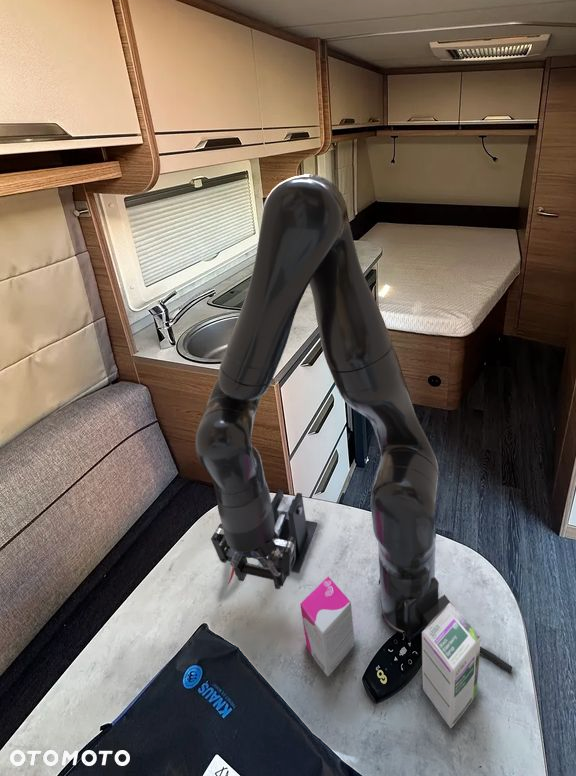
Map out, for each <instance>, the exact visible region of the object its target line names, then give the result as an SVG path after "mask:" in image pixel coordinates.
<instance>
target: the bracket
mask: <svg viewBox="0 0 576 776" xmlns="http://www.w3.org/2000/svg"><path fill="white" fill-rule="evenodd" d="M283 496H284V497H285V495H284V491H283V490H282V489H277V491H276V493H275V495H274V497H273V498H272V500H271V503H272V509H273V514H274V520H275V524H276V522H277V520H278V517H279V515H278V512H277V509H278V507H279V505H280V502H281V500H282V498H283ZM304 505H305V504H304V499H303V494H302V493H301V492H297V493H296V494H295V497H294V501H293V503H292V505H291V508H290V510H289V512H288V516H289V520H288V519H285V522H284V524H283V527H282V529H281V532H280V534H279V536H278V537H279V539H281V540H285V541H288V538H289V537H294V538H295V540H296V552H295V562H294V565H293V567H292V570H291V572H292V573H296V574H300V572H301V569H302V567H303V564H304V562H305V558H306V555H307V554H308V550H309V547H310V546H311V542H312V539H313V538H314V537H313V536H314V534H315V531H316V528H317V526H318V522H316V521H310V520H307V518H306V512H305V506H304ZM276 564H277V560H275V565H276Z"/></svg>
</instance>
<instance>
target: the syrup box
mask: <svg viewBox="0 0 576 776" xmlns="http://www.w3.org/2000/svg"><path fill="white" fill-rule="evenodd" d="M452 605H453V604H452V602H451V603H449V604H448V605H447V606H446V607H445V608H444V609H443V610H442V611H441V612H440V613H439V614H438V615H437V616H436V617H435V618H434V619H433V620H432V621H431V622H430V624H429V625H428V626H427V627H426V628H425V629H424V630H423V631H422V633H421V660H422V661H421V662H422V663H421V664H422V665H421V666H422V669H421V670H422V690H423V691H424V693H425V694H426V695H427V697H428V699H429V700H430V701H431V703H432V704H433V706H434V707H435V709H436V710H437V712H438V713H439V714H440V716H441V717H442V718H443V720H444V721H445V723H446V724H447V726H448V727H449V729H452V728H453V727H454V726H455V724H457V722H458V721H459V720H460V719H461V717H462V716H463V714H464V713H465V712H466V711H467V709H468V708H469V706H470V705H471V704H472V702H473V701H474V699H475V698H476V697H477V695H478V681H479V678H478V677H479V667H480V647H481V636H480V634H479V633H478V632H477V630H475V629H474V627H473V626H472V625H471V624H470V623H469V621H468V620H467V619H466V618H465V617H464V616H463V615H462V614H461V613H460V611H458V609H457V608H456V607H454V605H453V606H452Z"/></svg>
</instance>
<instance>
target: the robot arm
mask: <svg viewBox="0 0 576 776" xmlns="http://www.w3.org/2000/svg"><path fill="white" fill-rule="evenodd" d="M261 216H262V217H261V222H260V228H259V235H258V240H257V241H258V242H257V247H256V253H255V260H254V265H253V269H252V271H251V272H252V273H251V276H250V281H249V285H248V288H247V291H246V295H245V299H244V301H243V304H242V306H241V308H240V311H239V314H238V316H237V320H236V322H235V324H234V327H233V329H232V331H231V335H230V337H229V340H228V343H227V346H226V348H225V351H224V354H223V356H222V359H221V362H220V365H219V370H218V373H217V378H216V380H215V383H214V385H213V387H212V390H211V392H210V395H209V397H208V399H207V401H206V404H205V407H204V410H203V412H202V415H201V418H200V421H199V424H198V426H197V429H196V433H195V438H194V439H195V440H194V445H195V452H196V456H197V458H198V459H197V460H198V461H199V463H200V464H201V465H202V467H203V469H204V470H205V471H206V473H207V474H208V476H209V477H210V478H211V479H212V483H213V488H214V491H215V496H216V500H217V501H216V502H217V504H216V505H217V510H218V515H219V519H220V523H219V524H218V526H217V527H216V529H215V531H214V533H213V534H212V536H211V538H210V540H211V542H212V543H211V544H212V546H213V547H214V549H215V553H216V554H217V557H218V559H219V561H220V562H221V563H223V564H226V563H227V562H230V563H229V565H230V567H234V575H235V576H236V577H237V579H238V581H240V582H244V581H245V578H246V577H247V575H248V574H245V573H242V567H243V564H244V563H249V562H248V559H254V560H257V561H258V563H259V562H260V563H261V565H262V566H263V567H264V568H265V569H268V568H269V570H270V571H271V572H272V574H273V580H272V581H273V584H274V588H275V589H276V590H281V587H284V584H285V583H286V579H287V577H290V575H291V572H292V571H291V570H292V567H293V565H294V562H295V552H296V540H295V538H294V537H289V538H288V541H285V540H281V539H279V537H278V535H277V533H276V532H275V520H274V514H273V509H272V498H271V493H270V489H269V486H268V483H267V481H266V480H267V479H266V477H265V470H264V465H263V461H262V458H261V454H260V453H259V451H258V449H257V448H256V447H255V446H253V445H252V435H253V429H254V423H255V418H256V413H257V409H258V406H259V403H260V401H261V397H262V396H263V395H265V394H266V393H267V391H268V389H269V388H270V387H271V384H272V383H273V379H274V377H275V375H276V372H277V370H278V367H279V364H280V362H281V360H282V357H283V354H284V352H285V349H286V347H287V344H288V340H289V337H290V334H291V330H292V327H293V323H294V320H295V316H296V313H297V310H298V308H299V306H300V303H301V301H302V299H303V297H304V294H305V292H306V290H307V288H308V287H310V290H311V294H312V298H313V305H314V311H315V318H316V324H317V329H318V335H319V341H320V344H321V349H322V353H323V355H324V358H325V362H326V364H327V366H328V367H327V368H328V369H329V372H330V374H331V377H332V379H333V381H334V384H335V387H336V389H337V391H338V393H339V395H340V396H341V398H342V399H343V400H344V402H345V403H346V404H347V405H348V406H349V407H351V408H352V409H353V410H354V411H355V412H357V413H358V414H361V415H362V416H363V417H365V418H366V419H367V420H368V421H369V423H370V424H371V426H372V429H373V431H374V433H375V436H376V440H377V442H378V446H379V447H378V448H379V451H380V459H379V460H380V461H379V464H378V468H377V471H376V475H375V478H374V482H373V485H372V489H371V493H370V495H371V496H370V510H371V520H372V521H371V522H372V530H373V535H374V537H375V539H376V541H377V547H378V548H377V549H378V566H379V580H378V586H379V588H380V589H379V590H380V608H381V615H382V617H383V619H384V622H385V623H386V624H387V626H388V627H389V628H390V629H391V630H392V631H394V632H395V633H396V634H399V635H401V636H404V637H405V638H406V639H407V641H408V642H409V643H410V642H412V641H413V640H415V639H416V637H412V638H411V639H409V638H408V637H411V636H412V635H413V634H414V633H416V632H417V631H418V630H419V629H420V628H421V627H422V626H423V627H424V628H426V627H427V626H428V625H429V624H430V622H431V621H432V620H433V619H434V618H435V617H436V616H437V615H438V614H439V613H440V612H441V611H442V610H443V609H444V608H445V607H446V606H447V605H448V604H449V603H451V604H452V602H451V601H450V600H449V598H448V597H447V595H446V594H443V595H442V596H440V597H439V589H440V583H439V581H438V579H437V578H436V577H435V575H436V543H437V528H436V521H435V520H436V515H435V514H436V502H437V493H438V484H439V473H440V472H439V463H438V460H437V459H438V458H437V456H436V454H435V451H434V449H433V447H432V445H431V443H430V441H429V439H428V437H427V434H426V433H425V431H424V429H423V427H422V425H421V422H420V421H419V418H418V416H417V414H416V411H415V409H414V405H413V401H412V398H411V395H410V391H409V389H408V386H407V383H406V380H405V377H404V374H403V370H402V367H401V364H400V360H399V357H398V354H397V352H396V351H397V350H396V349H395V347H394V342H393V341H392V337H391V334H390V332H389V330H388V328H387V325H386V322H385V320H384V317H383V315H382V312H381V310H380V309H379V305H378V303H377V301H376V299H375V297H374V294H373V292H372V290H371V287H370V286H369V284H368V282H367V279H366V277H365V275H364V272H363V269H362V266H361V263H360V260H359V257H358V252H357V248H356V245H355V240H354V237H353V233H352V229H351V228H352V227H351V224H350V223H351V222H350V218H349V214H348V208H347V203H346V200H345V198H344V195H343V194H342V192H341V191H340V189H339V187H337V186H336V185H335V183H333V182H331V180H329V179H328V178H325V177H323V176H320V175H317V174H308V173H306V174H301V175H297V176H292V177H290V178H287V179H286V180H284V181H282V182H280V183H279V184H277V185H276V186H275V187H274V188H272V190H271V191H270V193H269V194H268V196H267V198H266V199H265V201H264V205H263V210H262V215H261ZM267 557H268V558H267ZM275 560H277V564H276V565H275ZM452 606H453V607H454V605H453V604H452ZM403 632H405V633H406V634H407V635H408V637H407V635H406V634H405V633H403ZM420 634H422V632H420ZM416 636H417V637H418V636H419V635H418V634H417V635H416ZM480 654H481V655H482V656H484V657H486V658H487V659H489V660H490V661H492V662H493V663H495V664H496V665H498V666H499V667H500V668H502V669H503V670H505V671H507V672H508V673H509V674H512V671H513V666H512V665H510V664H509V663H507V662H506V661H504V660H503V659H501V658H500V657H498V656H497V655H495V654H494V653H492V652H491V651H489V650H488V649H486V648H484V647H482V646H480V653H479V655H480Z"/></svg>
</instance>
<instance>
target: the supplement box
mask: <svg viewBox="0 0 576 776" xmlns="http://www.w3.org/2000/svg"><path fill="white" fill-rule="evenodd" d="M352 611H353V610H352V602H351V600H350V599H348V597H347V596H346V595H345V593H343V591H342V590H341V589H340V588H339V587H338V586H337V584H336V583H335V582H334V581H333V580H332V579H331V578H330V576H326V578H325V579H324V580H323V581H321V583H319V585H318V586H316V588H315V589H314V590H313V591H312V592H310V593H309V595H308V596H306V597H305V598H304V599H303V600H302V601H301V602H300V612H301V616H302V617H301V618H302V624H303V633H304V638H305V645H306V648H307V650H308V652H309V653H310V655H311V656H312V657H313V659H314V660H315V662H316V663H317V665H318V666H319V668H321V670H322V671H323V672H324V674H325V675H326V676H327V677H330V675H332V673H333V672H334V670H336V669H337V667H338V666H339V664H341V662H342V661H343V660H344V658H345V657H346V656H347V655H348V654H349V653H350V652H351V650H352V649H353V648H354V646H355V633H354V632H355V631H354V622H353V612H352Z"/></svg>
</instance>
